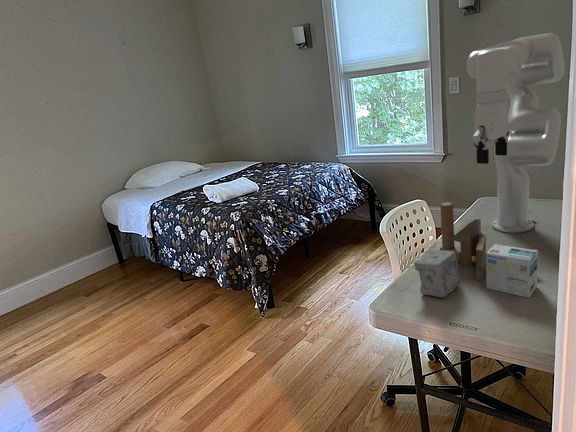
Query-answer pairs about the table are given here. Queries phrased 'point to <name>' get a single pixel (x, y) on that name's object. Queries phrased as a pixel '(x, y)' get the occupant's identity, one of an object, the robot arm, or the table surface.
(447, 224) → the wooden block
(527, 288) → the light bulb box
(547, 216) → the table surface
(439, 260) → the incense holder
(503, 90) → the robot arm
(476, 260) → the door
